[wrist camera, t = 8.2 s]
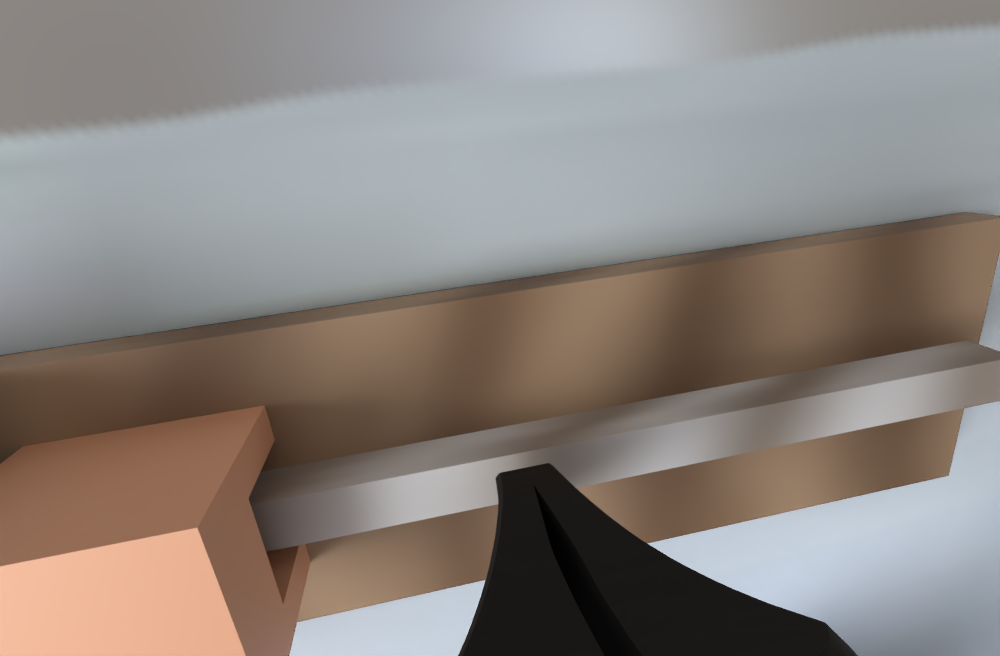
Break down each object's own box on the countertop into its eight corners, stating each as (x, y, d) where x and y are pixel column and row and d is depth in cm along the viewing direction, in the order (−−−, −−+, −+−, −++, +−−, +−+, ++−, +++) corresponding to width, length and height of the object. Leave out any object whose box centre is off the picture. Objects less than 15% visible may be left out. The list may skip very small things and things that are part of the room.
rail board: (965, 212, 16) (1281, 245, 10) (916, 456, 19) (1139, 588, 13) (-222, 388, 12) (-810, 610, 6) (-42, 665, 15) (-323, 988, 9)
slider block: (264, 405, 13) (197, 527, 9) (310, 561, 15) (272, 727, 10) (22, 446, 12) (-179, 601, 8) (100, 605, 14) (-32, 802, 10)
